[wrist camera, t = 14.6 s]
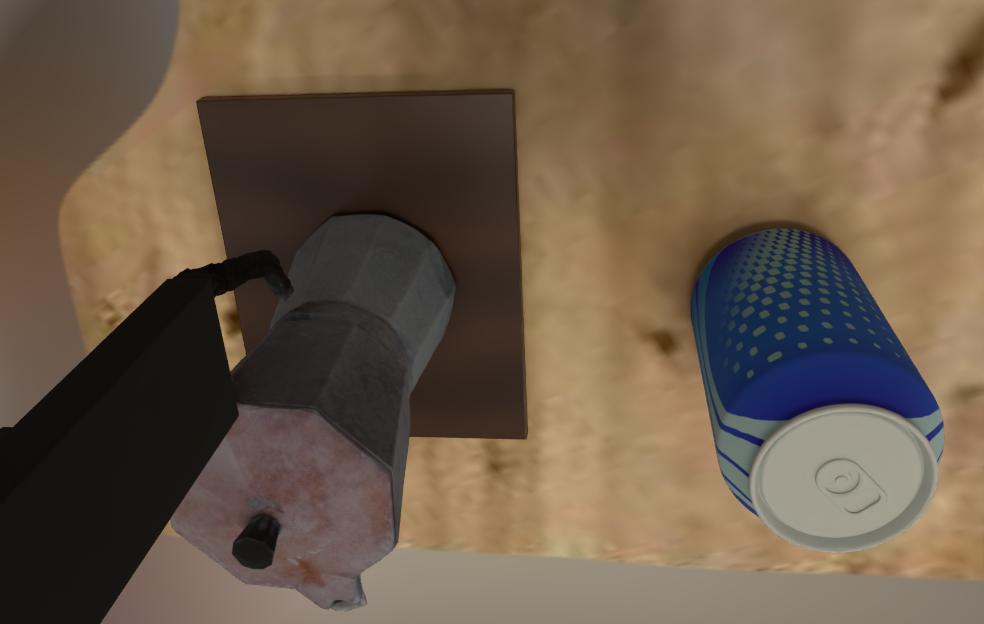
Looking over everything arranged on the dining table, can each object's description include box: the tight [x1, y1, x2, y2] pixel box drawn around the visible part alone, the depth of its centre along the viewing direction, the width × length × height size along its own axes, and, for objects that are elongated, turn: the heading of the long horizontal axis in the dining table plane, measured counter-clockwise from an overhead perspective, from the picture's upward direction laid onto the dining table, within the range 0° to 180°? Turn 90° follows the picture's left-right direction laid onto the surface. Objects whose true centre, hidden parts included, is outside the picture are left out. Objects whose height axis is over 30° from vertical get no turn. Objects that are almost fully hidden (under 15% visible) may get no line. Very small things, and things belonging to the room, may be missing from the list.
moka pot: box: [170, 214, 456, 611], centre depth 39 cm, size 10×15×20 cm, turn 26°
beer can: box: [691, 229, 944, 553], centre depth 39 cm, size 8×8×16 cm
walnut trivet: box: [196, 90, 528, 439], centre depth 48 cm, size 20×16×1 cm
